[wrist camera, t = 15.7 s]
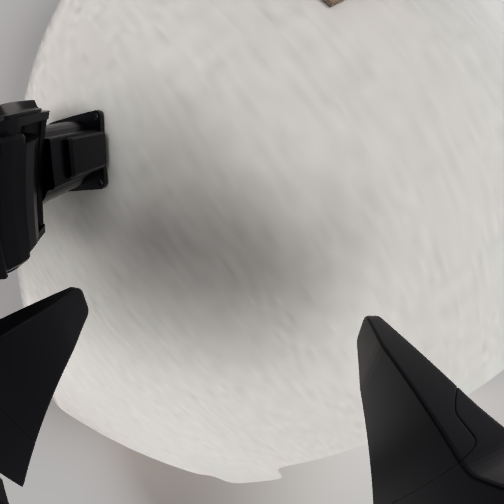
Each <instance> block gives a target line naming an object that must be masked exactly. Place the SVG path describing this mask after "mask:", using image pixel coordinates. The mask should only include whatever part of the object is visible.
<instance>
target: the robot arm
mask: <svg viewBox="0 0 504 504" xmlns="http://www.w3.org/2000/svg"><path fill="white" fill-rule="evenodd" d="M97 114H98V118H96V115H97ZM48 118H49V111H42V109H41V108H39V107H37V105H36V103H35V100H26V101H18V102H11V103H6V104H2V105H0V279H6V278H7V277H8V275H7V273H9V272H11V271H13V270H15V269H16V268H18V267H19V266H20V265H22V264H23V263H24V262H26V261H27V260H28V259H29V257H30V251H31V250H32V249H33V248H34V246H35V245H36V244H37V242H38V241H39V239H40V238H41V237H42V235H43V234H44V233H45V224H44V223H43V203H45V202H47V201H49V200H51V199H53V198H55V197H57V196H59V195H61V194H63V193H65V192H67V191H78V190H92V189H102V188H105V187H106V186H107V184H108V180H107V171H106V155H105V141H104V128H103V113H102V111H100V110H95V111H91V112H87V113H83V114H79V115H76V116H72V117H69V118H65V119H62V120H59V121H55V122H52V123H50V124H49V125H46V122H47V119H48ZM101 181H102V182H103V185H102V184H101ZM87 316H88V306H87V303H86V300H85V298H84V295H83V292H82V290H81V289H79V288H74V287H70V288H67V289H65V290H63V291H61V292H58V293H56V294H54V295H52V296H49V297H47V298H45V299H43V300H40V301H38V302H36V303H34V304H32V305H29V306H27V307H25V308H23V309H21V310H19V311H17V312H14V313H12V314H10V315H8V316H6V317H4V318H2V319H0V473H1V474H3V475H4V476H6V477H7V478H9V479H11V480H12V481H13V482H15V483H17V484H18V485H20V486H23V484H24V481H25V477H26V473H27V470H28V466H29V462H30V458H31V455H32V452H33V449H34V446H35V442H36V439H37V436H38V433H39V430H40V427H41V425H42V422H43V419H44V416H45V414H46V411H47V409H48V406H49V404H50V401H51V399H52V396H53V394H54V392H55V389H56V387H57V385H58V382H59V380H60V378H61V376H62V373H63V371H64V369H65V367H66V365H67V363H68V361H69V358H70V356H71V354H72V352H73V350H74V348H75V345H76V343H77V340H78V337H79V335H80V332H81V330H82V327H83V325H84V323H85V320H86V318H87ZM357 349H358V362H359V378H360V390H361V397H362V403H363V410H364V416H365V423H366V430H367V438H368V446H369V455H370V465H371V474H372V475H371V476H372V488H373V504H504V427H503V426H502V425H500V424H499V423H498V422H497V421H495V420H494V419H493V418H492V417H490V416H489V415H488V414H487V413H486V412H485V411H483V410H482V409H481V408H480V407H479V406H477V405H476V404H475V403H474V402H473V401H472V400H471V399H470V398H469V397H468V396H467V395H465V394H464V393H463V392H462V391H461V390H460V389H459V388H457V386H456V385H455V384H454V383H453V382H452V381H451V380H450V379H448V378H447V377H446V376H445V375H444V374H443V373H442V372H441V371H440V370H439V369H438V368H437V367H436V366H434V365H433V364H432V363H431V362H430V361H429V360H428V359H427V358H426V357H425V356H423V355H422V354H421V353H420V352H419V351H418V350H417V349H416V348H415V347H414V346H412V345H411V344H410V343H409V342H408V341H407V340H406V339H405V338H403V337H402V336H401V335H400V334H399V333H398V332H397V331H396V330H394V329H393V328H392V327H391V326H390V325H389V324H388V323H386V322H385V321H384V320H383V319H382V318H381V317H379V316H366V317H365V318H364V320H363V323H362V326H361V329H360V332H359V335H358V339H357ZM0 504H9V503H8V500H7V496H6V492H5V489H4V485H3V481H2V479H1V478H0Z"/></svg>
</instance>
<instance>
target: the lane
mask: <svg viewBox="0 0 504 504" xmlns="http://www.w3.org/2000/svg"><path fill="white" fill-rule="evenodd" d="M323 1H325V2H326V3H327V4H328V5H329V6H330V7H332V6H333V5H335V4H337V3H339V2H341V1H343V0H323Z"/></svg>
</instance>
